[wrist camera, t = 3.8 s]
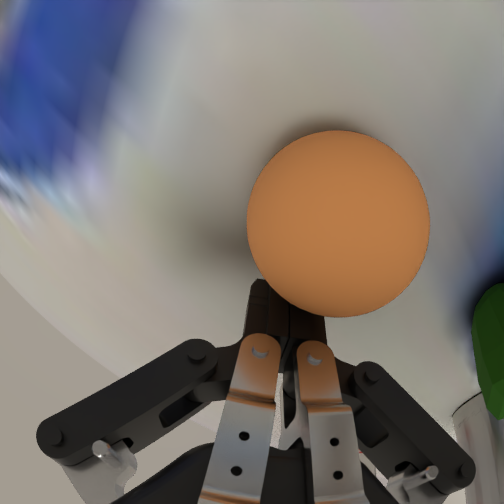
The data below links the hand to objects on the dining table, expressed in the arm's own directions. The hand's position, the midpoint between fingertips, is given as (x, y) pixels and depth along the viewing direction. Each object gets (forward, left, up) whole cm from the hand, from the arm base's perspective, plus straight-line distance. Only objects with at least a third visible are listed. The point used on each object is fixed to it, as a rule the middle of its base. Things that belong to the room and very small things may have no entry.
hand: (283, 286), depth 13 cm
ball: (-1, -4, +1) cm, 4 cm away
